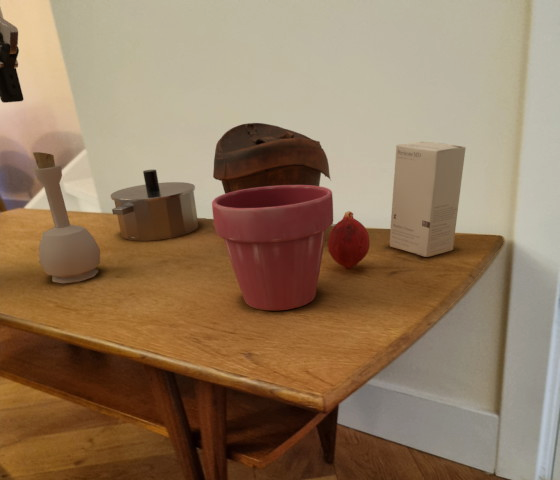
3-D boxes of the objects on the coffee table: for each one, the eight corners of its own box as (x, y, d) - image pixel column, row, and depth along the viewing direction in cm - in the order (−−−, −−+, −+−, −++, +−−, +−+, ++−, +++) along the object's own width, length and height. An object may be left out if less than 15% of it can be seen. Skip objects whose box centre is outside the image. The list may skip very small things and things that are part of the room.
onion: (368, 275, 75) (369, 216, 71) (326, 276, 76) (324, 217, 72) (370, 262, 80) (370, 206, 76) (330, 262, 81) (328, 207, 77)
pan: (95, 241, 102) (85, 203, 99) (164, 216, 117) (158, 181, 114) (155, 247, 96) (147, 206, 92) (220, 219, 111) (216, 183, 107)
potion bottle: (32, 283, 83) (-6, 156, 74) (72, 265, 90) (41, 147, 81) (79, 287, 80) (44, 155, 71) (116, 267, 87) (89, 145, 78)
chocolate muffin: (304, 260, 83) (297, 131, 75) (199, 249, 93) (182, 134, 84) (351, 229, 97) (350, 117, 88) (255, 223, 106) (245, 121, 97)
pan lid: (93, 203, 101) (87, 177, 99) (150, 187, 113) (145, 163, 111) (159, 207, 94) (154, 179, 92) (211, 188, 106) (208, 163, 104)
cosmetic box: (388, 247, 86) (391, 145, 79) (416, 239, 88) (421, 139, 81) (429, 259, 79) (435, 148, 72) (457, 250, 82) (467, 142, 75)
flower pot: (262, 274, 79) (254, 181, 73) (353, 285, 72) (352, 184, 66) (202, 310, 68) (186, 205, 62) (301, 327, 62) (294, 211, 56)
